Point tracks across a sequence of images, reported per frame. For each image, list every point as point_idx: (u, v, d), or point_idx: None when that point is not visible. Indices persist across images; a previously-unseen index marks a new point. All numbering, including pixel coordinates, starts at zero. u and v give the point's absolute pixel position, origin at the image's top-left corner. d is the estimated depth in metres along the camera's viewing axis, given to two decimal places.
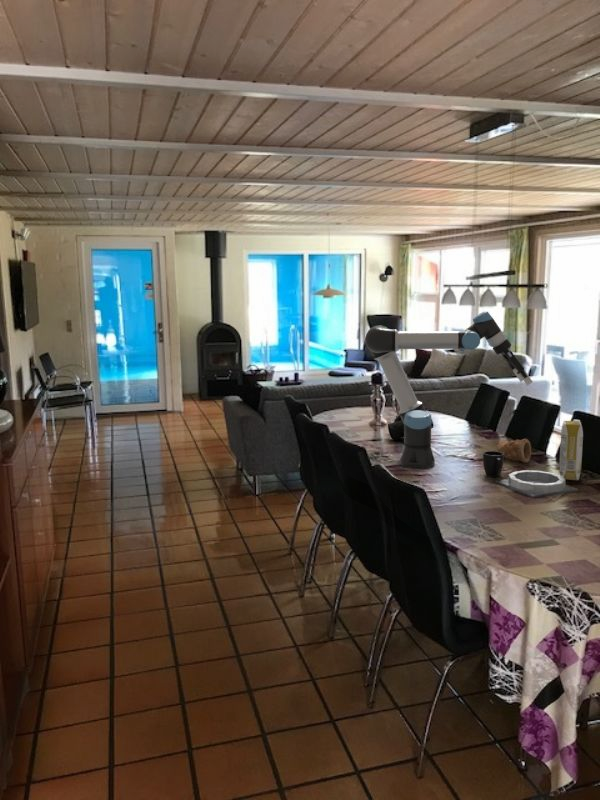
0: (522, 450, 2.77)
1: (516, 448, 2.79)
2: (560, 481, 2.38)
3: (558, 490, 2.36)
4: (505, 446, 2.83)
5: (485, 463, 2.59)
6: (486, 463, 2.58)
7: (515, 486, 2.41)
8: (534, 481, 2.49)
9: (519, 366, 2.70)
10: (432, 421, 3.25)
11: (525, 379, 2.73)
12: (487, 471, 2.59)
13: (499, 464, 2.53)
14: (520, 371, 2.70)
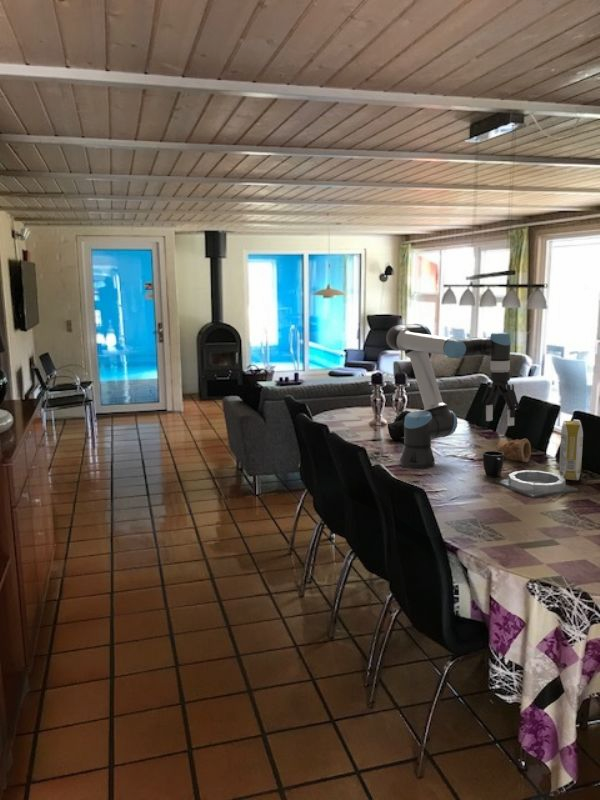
0: (522, 450, 2.77)
1: (516, 447, 2.79)
2: (560, 481, 2.38)
3: (558, 490, 2.36)
4: (505, 446, 2.84)
5: (485, 463, 2.59)
6: (486, 463, 2.58)
7: (515, 486, 2.41)
8: (534, 481, 2.49)
9: (515, 403, 2.47)
10: None
11: (510, 419, 2.50)
12: (487, 471, 2.59)
13: (499, 464, 2.53)
14: (514, 408, 2.47)
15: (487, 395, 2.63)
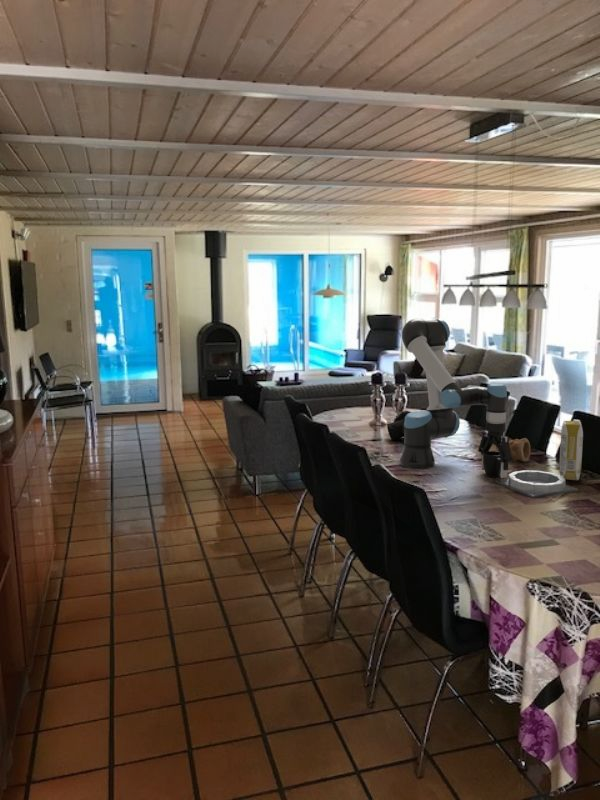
0: (522, 449, 2.78)
1: (516, 447, 2.80)
2: (560, 481, 2.38)
3: (558, 490, 2.36)
4: None
5: (485, 463, 2.59)
6: (486, 463, 2.58)
7: (515, 486, 2.41)
8: (534, 481, 2.49)
9: (509, 456, 2.50)
10: None
11: (503, 471, 2.53)
12: (487, 471, 2.59)
13: (499, 464, 2.53)
14: (508, 461, 2.49)
15: (483, 444, 2.64)
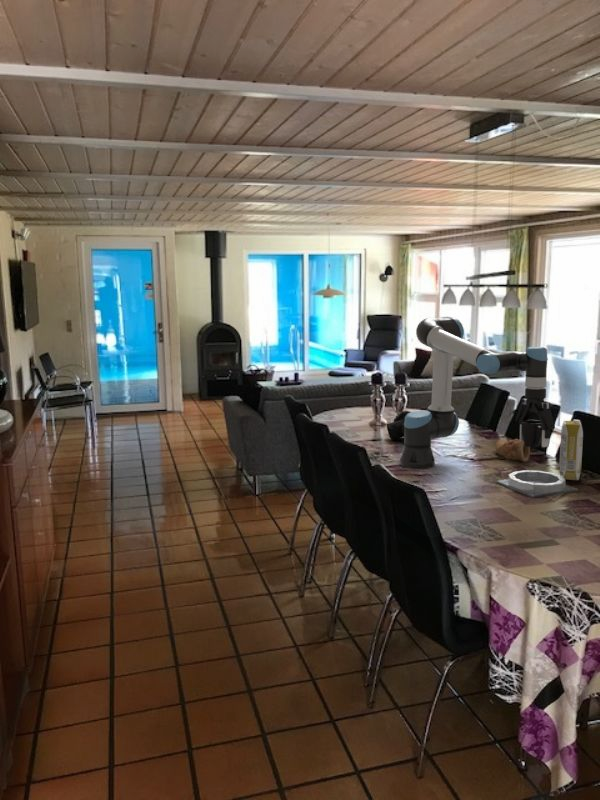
0: (521, 449, 2.79)
1: (516, 447, 2.80)
2: (560, 481, 2.38)
3: (558, 490, 2.36)
4: (504, 445, 2.85)
5: (524, 432, 2.43)
6: (525, 432, 2.43)
7: (515, 486, 2.41)
8: (534, 481, 2.49)
9: (551, 423, 2.34)
10: None
11: (544, 440, 2.37)
12: (526, 441, 2.43)
13: (540, 432, 2.37)
14: (550, 429, 2.34)
15: (521, 413, 2.48)
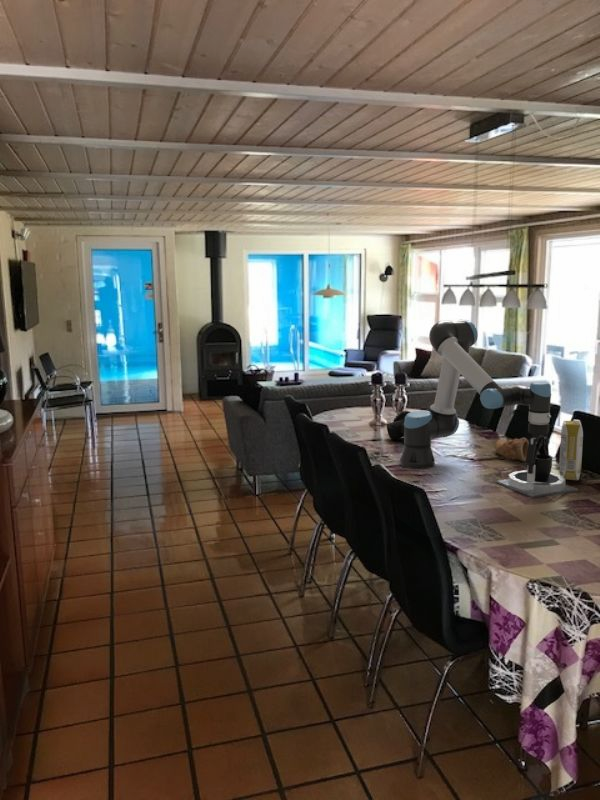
0: (521, 449, 2.79)
1: (515, 446, 2.81)
2: (560, 481, 2.38)
3: (558, 490, 2.36)
4: (504, 445, 2.85)
5: None
6: None
7: (515, 486, 2.41)
8: None
9: (529, 459, 2.36)
10: None
11: (529, 474, 2.39)
12: None
13: (527, 466, 2.40)
14: (526, 464, 2.37)
15: None
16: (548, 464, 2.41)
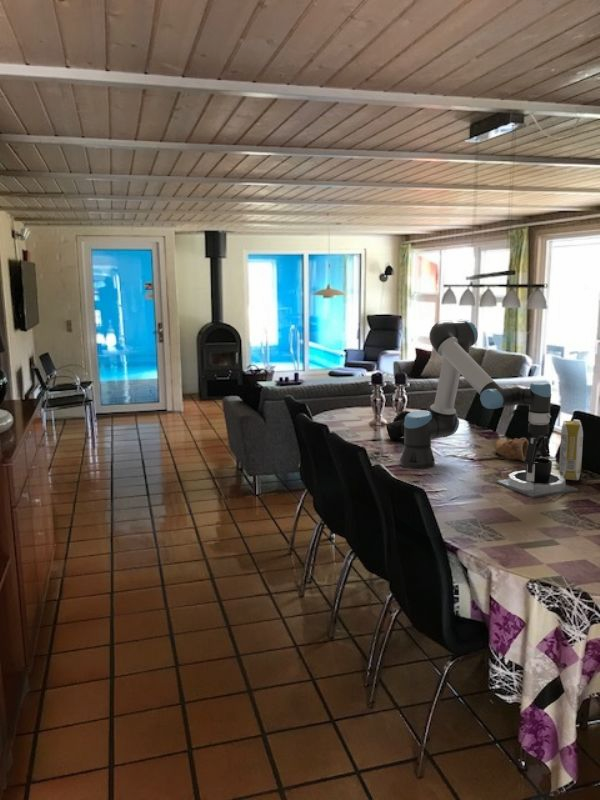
0: (521, 449, 2.80)
1: (515, 446, 2.81)
2: (560, 481, 2.38)
3: (558, 490, 2.36)
4: (504, 445, 2.86)
5: None
6: None
7: (515, 486, 2.41)
8: None
9: (529, 458, 2.35)
10: None
11: (528, 473, 2.39)
12: None
13: (526, 470, 2.41)
14: (526, 463, 2.36)
15: None
16: (548, 468, 2.41)
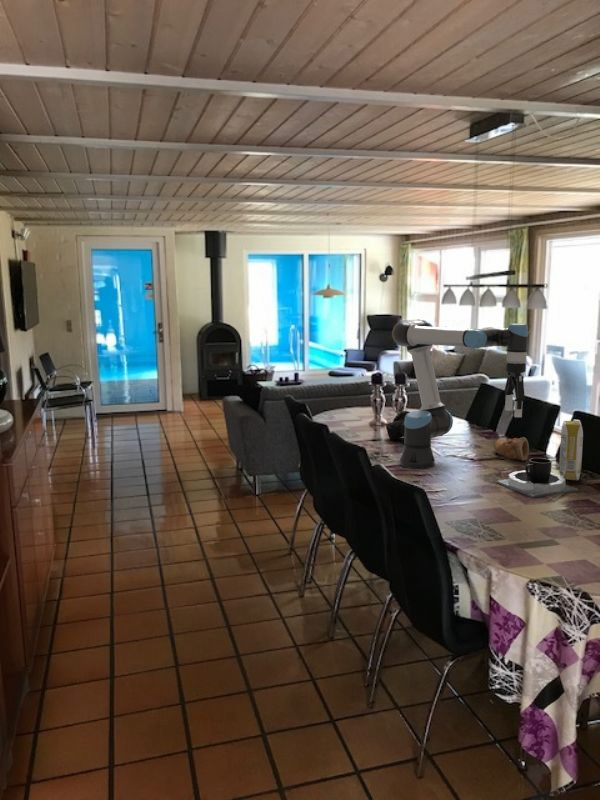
0: (521, 448, 2.80)
1: (515, 446, 2.82)
2: (560, 481, 2.38)
3: (558, 490, 2.36)
4: (503, 444, 2.86)
5: None
6: None
7: (515, 486, 2.41)
8: None
9: (521, 395, 2.48)
10: None
11: (517, 410, 2.51)
12: None
13: (526, 470, 2.41)
14: (519, 400, 2.48)
15: (508, 385, 2.64)
16: (547, 468, 2.41)
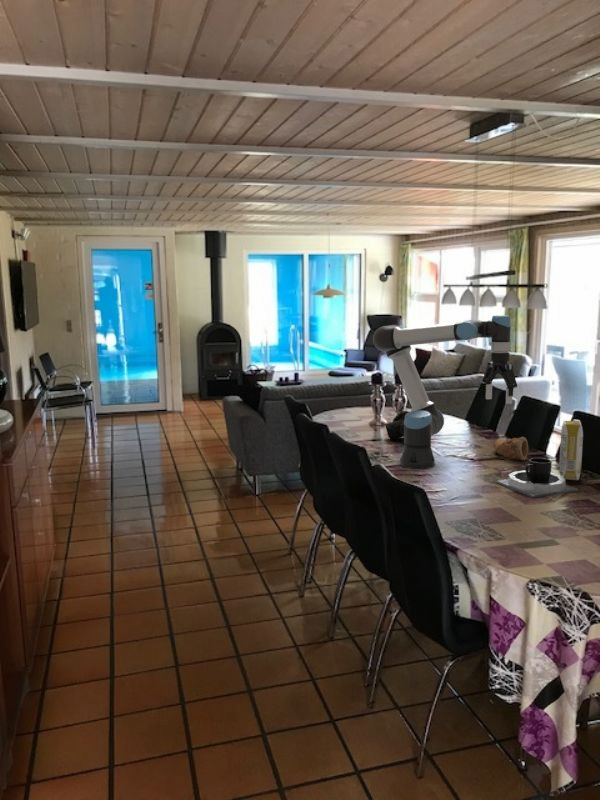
0: (520, 448, 2.81)
1: (514, 446, 2.82)
2: (560, 481, 2.38)
3: (558, 490, 2.36)
4: (503, 444, 2.87)
5: None
6: None
7: (515, 486, 2.41)
8: None
9: (514, 382, 2.61)
10: None
11: (508, 397, 2.63)
12: None
13: (526, 470, 2.41)
14: (513, 387, 2.60)
15: (487, 375, 2.76)
16: (547, 468, 2.41)
